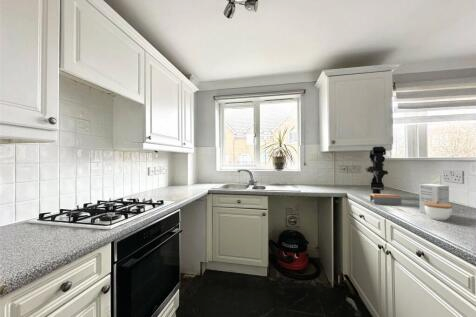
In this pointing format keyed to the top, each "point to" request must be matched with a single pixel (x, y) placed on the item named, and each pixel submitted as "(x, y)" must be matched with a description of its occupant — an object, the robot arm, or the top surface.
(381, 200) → the cable duct
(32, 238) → the top surface
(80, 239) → the top surface
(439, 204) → the lidded jar
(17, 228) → the top surface
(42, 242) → the top surface
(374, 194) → the duct cover
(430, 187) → the supplement box
